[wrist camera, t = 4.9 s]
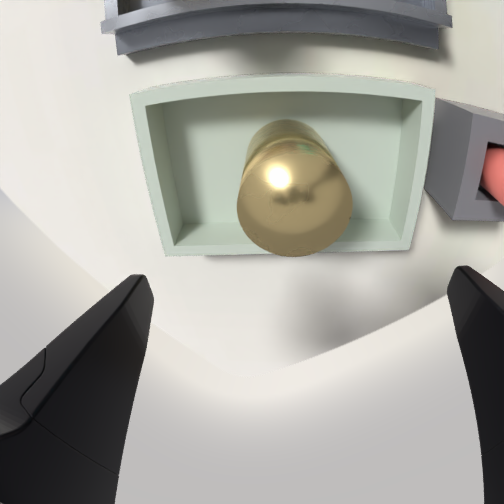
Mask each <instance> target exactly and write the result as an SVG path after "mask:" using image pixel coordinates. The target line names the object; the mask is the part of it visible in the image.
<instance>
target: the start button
mask: <svg viewBox="0 0 504 504" xmlns="http://www.w3.org/2000/svg"><path fill="white" fill-rule="evenodd" d="M479 184H480V185H481V186H482V187H483V188H484V189H485V190H487V191H488V192H489V193H490V194H491V195H492V196H493V197H494V198H495V199H496V200H498V201H499V202H500V203H501V204H502V205H503V206H504V148H503V147H501V146H500V145H498V144H495V143H490V144H487V149H486V154H485V159H484V164H483V169H482V174H481V178H480V183H479Z"/></svg>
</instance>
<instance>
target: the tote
mask: <svg viewBox="0 0 504 504" xmlns="http://www.w3.org/2000/svg"><path fill="white" fill-rule="evenodd" d="M129 96H130V102H131V108H132V113H133V119H134V124H135V130H136V135H137V140H138V145H139V150H140V155H141V160H142V164H143V169H144V174H145V178H146V182H147V187H148V191H149V195H150V199H151V204H152V208H153V212H154V216H155V220H156V223H157V227H158V231H159V235H160V239H161V242H162V246H163V249H164V253H165V256H202V255H242V254H273V253H270V252H268V251H266V250H264V249H262V248H260V247H259V246H257V245H256V244H255V243H254V242H252V241H251V240H250V239H249V238H248V236H247V235H246V234H245V232H244V231H243V229H242V227H241V225H240V222H239V220H238V215H237V198H238V193H239V188H240V183H241V178H242V173H243V168H244V163H245V158H246V154H247V149H248V145H249V143H250V141H251V139H252V137H253V136H254V134H255V133H256V132H257V131H258V130H259V129H260V128H262V127H263V126H265V125H266V124H268V123H270V122H273V121H277V120H283V119H291V120H297V121H300V122H303V123H305V124H307V125H309V126H310V127H312V128H313V129H314V130H315V131H316V132H317V133H318V134H319V135H320V137H321V138H322V140H323V141H324V143H325V145H326V146H327V148H328V150H329V151H330V153H331V155H332V156H333V158H334V160H335V162H336V163H337V165H338V167H339V169H340V170H341V172H342V174H343V176H344V177H345V179H346V181H347V183H348V185H349V187H350V190H351V194H352V200H353V209H352V215H351V218H350V221H349V223H348V225H347V228H346V229H345V231H344V232H343V234H342V235H341V236H340V237H339V238H338V239H337V240H336V241H335V242H334V243H333V244H331V245H330V246H328V247H327V248H325V249H323V250H321V251H319V252H317V253H320V252H357V251H394V250H409V248H410V245H411V241H412V237H413V233H414V229H415V224H416V220H417V216H418V211H419V206H420V202H421V197H422V191H423V186H424V181H425V175H426V169H427V163H428V156H429V149H430V142H431V134H432V125H433V115H434V103H435V89H432V88H429V87H426V86H423V85H419V84H416V83H412V82H408V81H401V80H394V79H386V78H378V77H368V76H357V75H344V74H324V73H269V74H249V75H235V76H224V77H214V78H205V79H198V80H190V81H183V82H177V83H171V84H165V85H159V86H154V87H150V88H147V89H144V90H141V91H138V92H136V93H133V94H130V95H129Z"/></svg>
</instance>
